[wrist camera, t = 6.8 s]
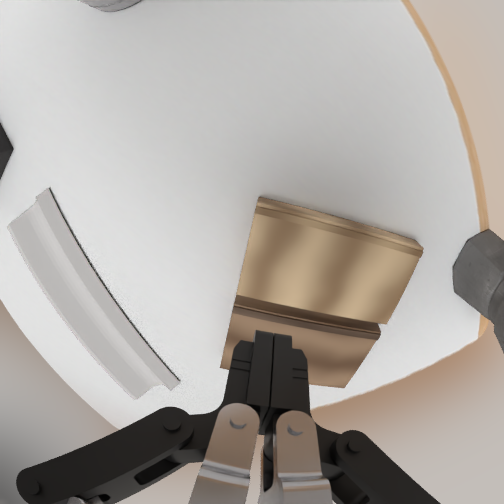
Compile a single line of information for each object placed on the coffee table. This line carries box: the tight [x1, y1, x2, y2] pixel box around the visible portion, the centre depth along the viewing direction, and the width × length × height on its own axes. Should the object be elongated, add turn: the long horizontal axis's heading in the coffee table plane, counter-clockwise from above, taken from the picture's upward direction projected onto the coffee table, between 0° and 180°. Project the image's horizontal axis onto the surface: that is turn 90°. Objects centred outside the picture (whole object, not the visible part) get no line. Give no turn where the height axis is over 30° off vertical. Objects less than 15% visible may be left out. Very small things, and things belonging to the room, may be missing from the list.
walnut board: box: [220, 294, 381, 388], centre depth 30 cm, size 10×16×2 cm, turn 78°
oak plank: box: [236, 197, 424, 324], centre depth 25 cm, size 16×9×2 cm, turn 78°
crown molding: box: [7, 188, 180, 400], centre depth 31 cm, size 31×12×4 cm, turn 25°
